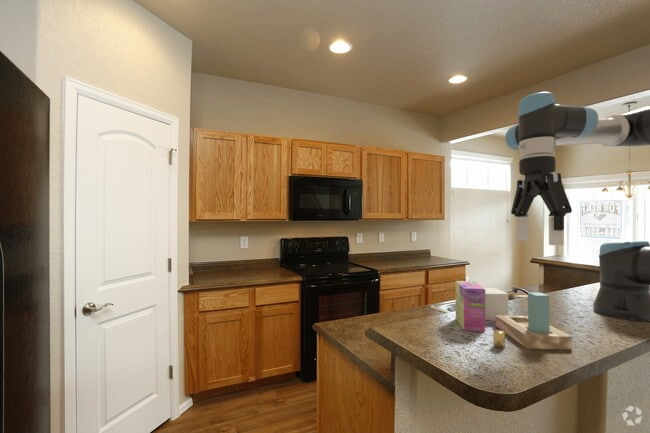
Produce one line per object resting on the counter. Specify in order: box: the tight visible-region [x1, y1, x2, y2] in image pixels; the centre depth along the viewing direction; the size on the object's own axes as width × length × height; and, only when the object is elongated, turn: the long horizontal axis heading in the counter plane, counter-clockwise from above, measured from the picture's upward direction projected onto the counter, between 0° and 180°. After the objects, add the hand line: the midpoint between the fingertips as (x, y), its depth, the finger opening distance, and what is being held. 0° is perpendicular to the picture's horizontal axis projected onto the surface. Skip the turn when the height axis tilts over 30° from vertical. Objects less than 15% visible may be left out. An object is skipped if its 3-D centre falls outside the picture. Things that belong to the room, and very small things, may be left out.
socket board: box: [494, 315, 573, 350], centre depth 82 cm, size 10×16×3 cm, turn 176°
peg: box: [527, 292, 551, 334], centre depth 78 cm, size 3×3×12 cm
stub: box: [493, 329, 506, 349], centre depth 76 cm, size 2×2×4 cm
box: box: [455, 280, 486, 333], centre depth 92 cm, size 10×6×12 cm, turn 169°
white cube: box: [483, 287, 510, 321], centre depth 99 cm, size 8×8×8 cm
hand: (537, 242), depth 78 cm, fingers open, 13 cm apart
